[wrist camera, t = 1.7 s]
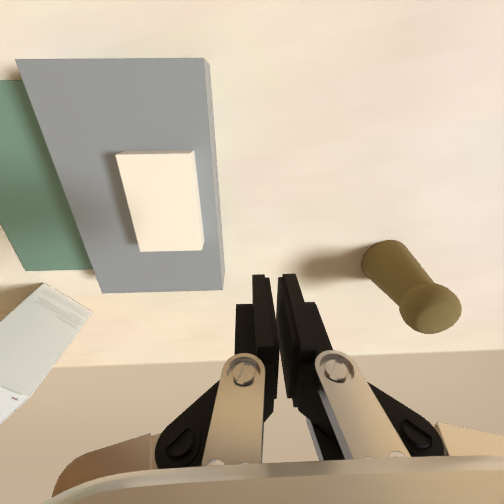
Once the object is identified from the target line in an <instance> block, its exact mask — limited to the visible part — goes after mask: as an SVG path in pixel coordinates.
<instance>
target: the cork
mask: <svg viewBox="0 0 504 504" xmlns="http://www.w3.org/2000/svg"><path fill="white" fill-rule="evenodd" d="M361 266H362V270H363V272H364V274H365V275H366V276H367V277H368V278H369V279H371V280H372V281H373V282H374V283H375V284H376V285H377V286H378V287H379V288H380V289H381V290H382V291H383V292H384V293H386V294H387V295H388V296H389V297H390V298H391V299H392V300H393V301H394V302H395V303H396V304H397V305H398V306H399V311H400V314H401V316H402V318H403V320H404V321H405V323H406V324H407V325H408V326H410V327H411V328H412V329H414V330H415V331H418V332H421V333H424V334H434V333H439V332H442V331H444V330H446V329H448V328H450V327H451V326H453V325H454V324H455V323H456V322H457V321H458V319H459V317H460V315H461V310H462V309H461V304H460V301H459V299H458V298H457V296H456V295H455V294H454V293H453V292H451V291H450V290H449V289H448V288H446V287H444V286H442V285H439V284H436V283H434V282H433V281H432V279H431V278H430V277H429V275H428V274H427V273H426V272H425V270H424V269H423V268H422V267H421V265H420V264H419V263H418V262H417V260H416V259H415V258H414V256H413V255H412V254H411V253H410V251H409V250H408V249H407V248H406V246H405V245H403V244H402V243H401V242H398V241H395V240H386V241H382V242H379V243H377V244H376V245H374V246H372V247H371V248H370V249H369V250H368V251H367V252H366V253H365V255H364V256H363V259H362V263H361Z"/></svg>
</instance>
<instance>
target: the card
mask: <svg viewBox="0 0 504 504" xmlns="http://www.w3.org/2000/svg"><path fill="white" fill-rule="evenodd" d="M116 159H117V163H118V167H119V171H120V175H121V179H122V183H123V187H124V190H125V194H126V198H127V202H128V206H129V210H130V214H131V218H132V222H133V225H134V229H135V233H136V237H137V241H138V245H139V249H140V252H154V251H196V250H202V248H203V244H204V233H203V224H202V215H201V206H200V197H199V189H198V180H197V171H196V162H195V153H194V150H155V151H124V152H121V153H118V154H116Z"/></svg>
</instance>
